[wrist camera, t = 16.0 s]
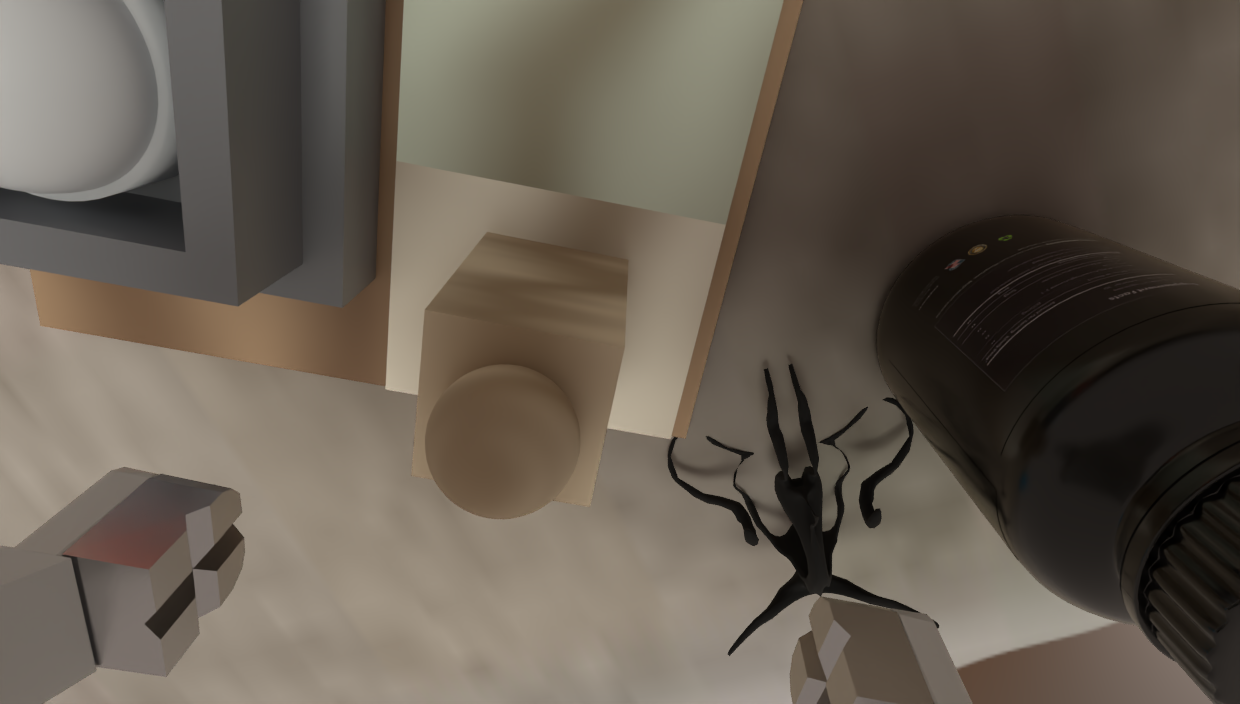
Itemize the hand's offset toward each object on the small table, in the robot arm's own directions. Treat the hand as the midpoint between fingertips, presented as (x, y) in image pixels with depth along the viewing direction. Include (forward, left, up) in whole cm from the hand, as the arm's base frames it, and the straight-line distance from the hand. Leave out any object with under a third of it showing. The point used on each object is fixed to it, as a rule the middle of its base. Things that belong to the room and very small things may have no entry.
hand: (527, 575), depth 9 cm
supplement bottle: (-12, -1, -12) cm, 17 cm away
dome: (+11, -4, -9) cm, 15 cm away
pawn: (+1, 0, -11) cm, 11 cm away
